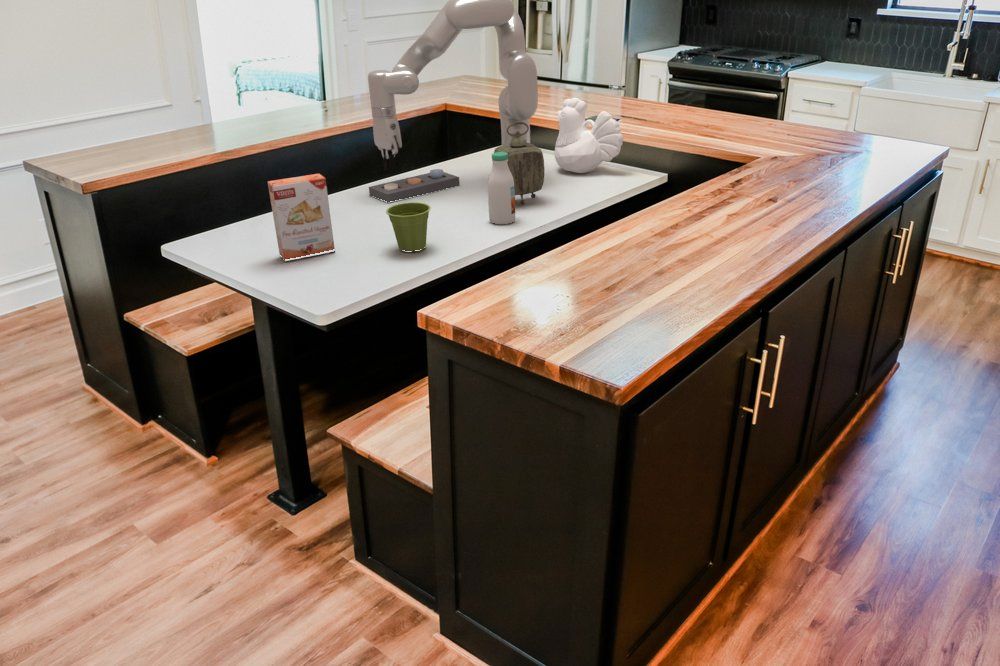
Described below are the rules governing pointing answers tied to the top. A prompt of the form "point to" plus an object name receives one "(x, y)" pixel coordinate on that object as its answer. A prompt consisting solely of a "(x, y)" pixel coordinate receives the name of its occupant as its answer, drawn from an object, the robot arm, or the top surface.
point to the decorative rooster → (585, 138)
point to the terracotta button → (414, 181)
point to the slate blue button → (436, 173)
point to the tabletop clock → (524, 164)
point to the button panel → (414, 187)
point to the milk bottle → (501, 191)
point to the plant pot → (410, 224)
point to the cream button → (391, 186)
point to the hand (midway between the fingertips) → (390, 169)
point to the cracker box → (301, 215)
